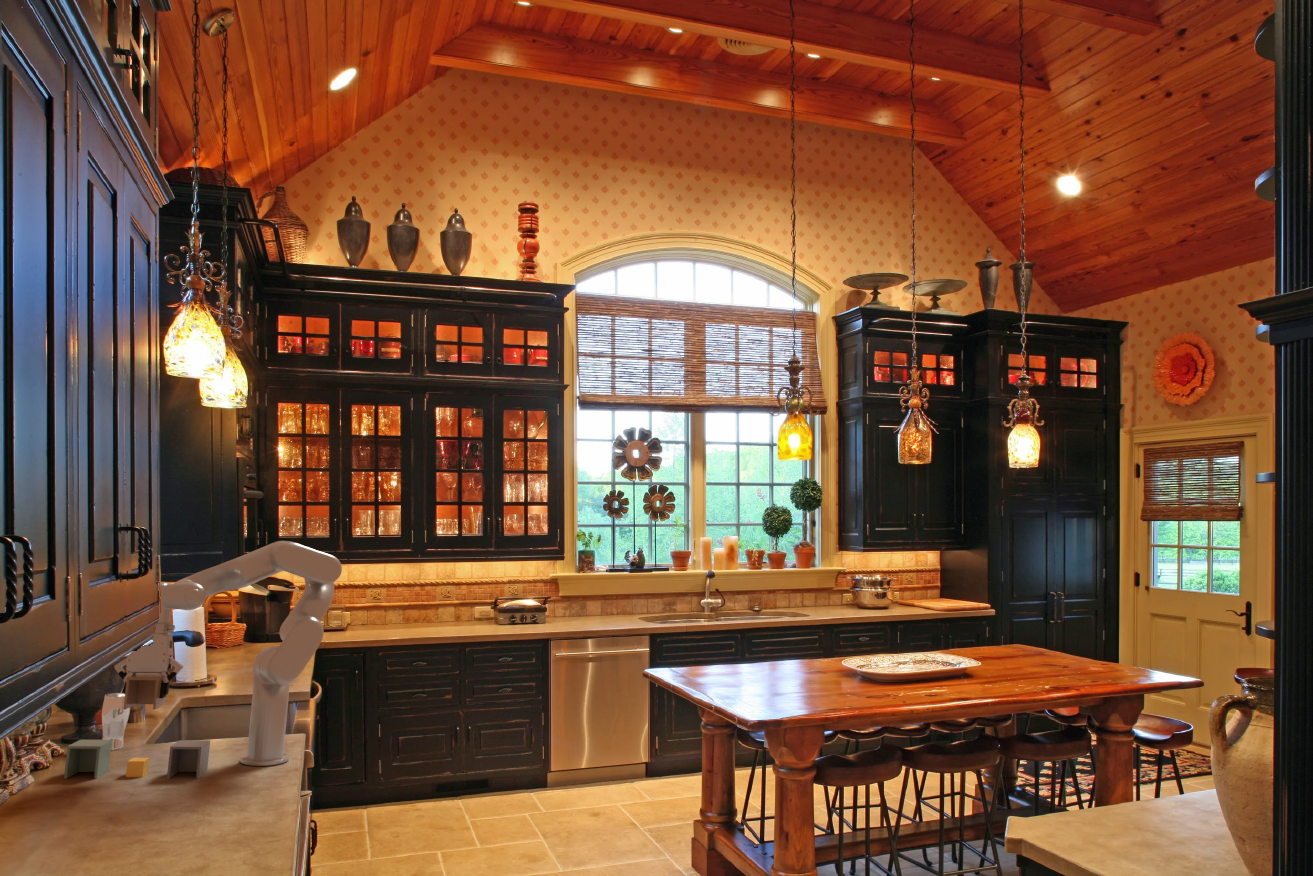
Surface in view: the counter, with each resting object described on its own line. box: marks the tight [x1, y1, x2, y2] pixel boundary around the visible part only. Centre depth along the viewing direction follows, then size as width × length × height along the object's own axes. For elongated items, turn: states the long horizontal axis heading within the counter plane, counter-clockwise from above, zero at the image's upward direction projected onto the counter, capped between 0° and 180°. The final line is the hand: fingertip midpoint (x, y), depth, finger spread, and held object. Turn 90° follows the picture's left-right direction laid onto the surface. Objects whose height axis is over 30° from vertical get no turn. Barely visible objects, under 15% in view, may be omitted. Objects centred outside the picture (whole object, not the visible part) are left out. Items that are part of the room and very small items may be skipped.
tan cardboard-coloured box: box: [124, 673, 167, 710], centre depth 239 cm, size 8×8×8 cm
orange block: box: [125, 757, 151, 778], centre depth 237 cm, size 4×4×4 cm
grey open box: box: [166, 739, 211, 780], centre depth 239 cm, size 8×8×8 cm
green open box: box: [63, 739, 112, 780], centre depth 235 cm, size 8×8×8 cm
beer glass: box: [101, 692, 131, 751], centre depth 264 cm, size 7×7×15 cm
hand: (145, 696), depth 239 cm, fingers closed on tan cardboard-coloured box, 7 cm apart
